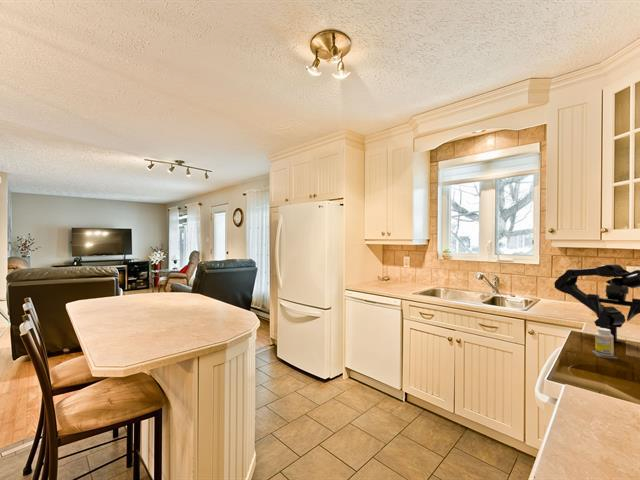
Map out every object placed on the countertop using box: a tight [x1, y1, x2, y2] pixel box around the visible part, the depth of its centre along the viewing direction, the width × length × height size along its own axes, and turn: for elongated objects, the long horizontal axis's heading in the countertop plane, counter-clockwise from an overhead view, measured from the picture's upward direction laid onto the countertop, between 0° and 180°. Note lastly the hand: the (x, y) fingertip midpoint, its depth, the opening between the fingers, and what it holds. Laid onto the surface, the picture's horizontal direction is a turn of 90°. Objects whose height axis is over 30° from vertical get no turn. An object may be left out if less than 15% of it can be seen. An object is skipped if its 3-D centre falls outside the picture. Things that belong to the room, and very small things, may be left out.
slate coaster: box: [591, 350, 619, 360], centre depth 123 cm, size 6×6×1 cm
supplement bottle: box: [594, 327, 615, 356], centre depth 123 cm, size 6×6×10 cm
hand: (612, 318), depth 129 cm, fingers open, 9 cm apart
